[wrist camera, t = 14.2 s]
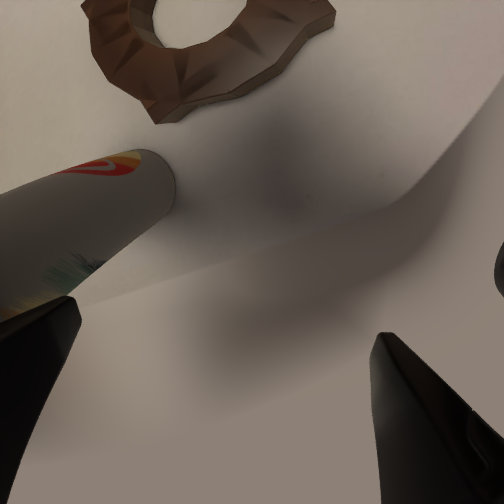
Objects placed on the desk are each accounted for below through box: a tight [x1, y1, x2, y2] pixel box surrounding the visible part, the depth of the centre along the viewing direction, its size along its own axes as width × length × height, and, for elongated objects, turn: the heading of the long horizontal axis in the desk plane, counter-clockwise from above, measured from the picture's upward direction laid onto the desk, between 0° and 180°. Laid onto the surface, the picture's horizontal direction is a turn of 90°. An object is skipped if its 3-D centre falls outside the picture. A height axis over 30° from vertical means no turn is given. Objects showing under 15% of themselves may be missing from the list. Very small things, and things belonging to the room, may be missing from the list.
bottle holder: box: [81, 0, 336, 124], centre depth 13 cm, size 14×14×3 cm
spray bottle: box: [0, 150, 175, 322], centre depth 12 cm, size 6×6×20 cm
